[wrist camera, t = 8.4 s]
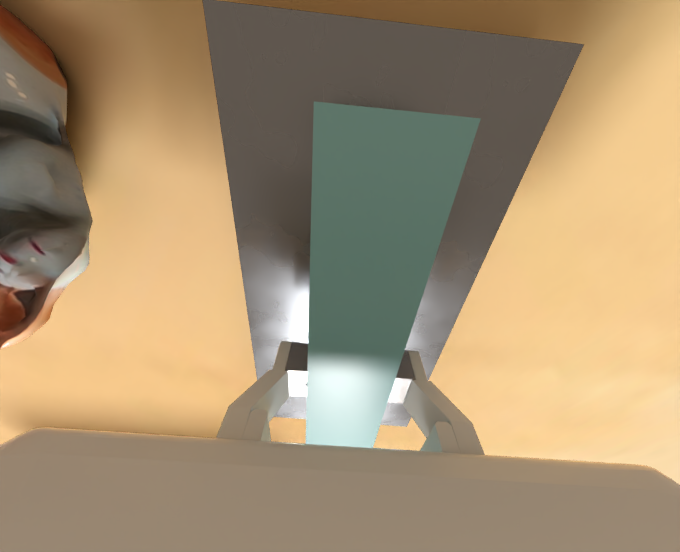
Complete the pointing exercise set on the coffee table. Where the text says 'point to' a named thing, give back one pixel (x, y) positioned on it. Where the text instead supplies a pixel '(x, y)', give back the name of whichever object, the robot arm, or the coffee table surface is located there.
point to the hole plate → (378, 92)
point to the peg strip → (372, 253)
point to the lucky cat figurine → (35, 185)
